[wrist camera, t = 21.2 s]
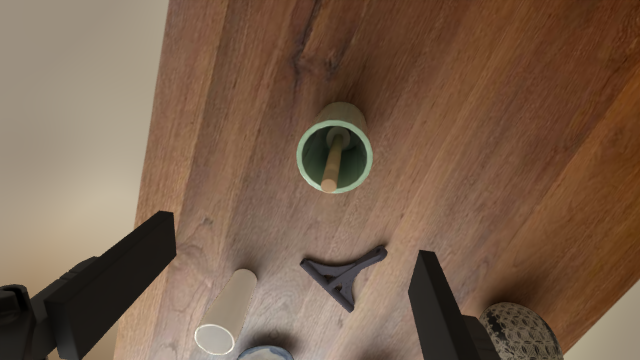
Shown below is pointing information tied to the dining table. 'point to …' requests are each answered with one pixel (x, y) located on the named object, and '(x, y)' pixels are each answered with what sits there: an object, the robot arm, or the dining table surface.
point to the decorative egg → (520, 333)
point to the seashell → (265, 353)
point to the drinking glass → (227, 314)
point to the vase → (317, 150)
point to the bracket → (342, 275)
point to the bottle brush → (334, 156)
